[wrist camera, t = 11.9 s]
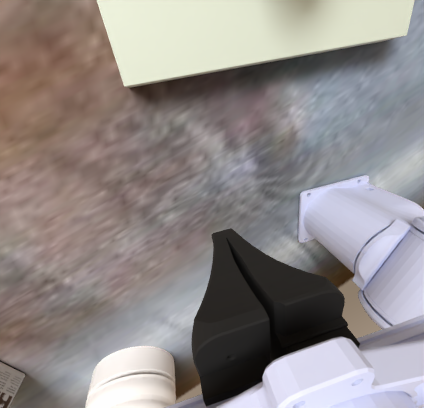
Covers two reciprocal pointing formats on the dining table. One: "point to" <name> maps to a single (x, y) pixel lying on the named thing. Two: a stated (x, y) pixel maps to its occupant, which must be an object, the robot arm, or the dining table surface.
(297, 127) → the dining table surface
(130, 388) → the honey pot
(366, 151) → the dining table surface
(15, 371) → the coffee box
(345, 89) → the dining table surface
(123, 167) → the dining table surface
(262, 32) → the board
